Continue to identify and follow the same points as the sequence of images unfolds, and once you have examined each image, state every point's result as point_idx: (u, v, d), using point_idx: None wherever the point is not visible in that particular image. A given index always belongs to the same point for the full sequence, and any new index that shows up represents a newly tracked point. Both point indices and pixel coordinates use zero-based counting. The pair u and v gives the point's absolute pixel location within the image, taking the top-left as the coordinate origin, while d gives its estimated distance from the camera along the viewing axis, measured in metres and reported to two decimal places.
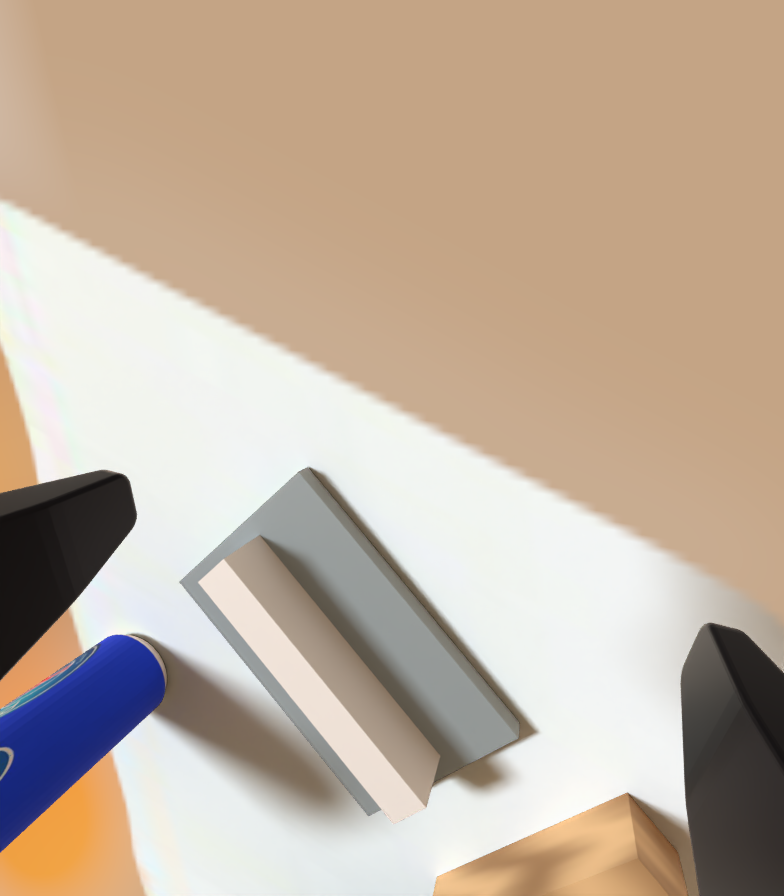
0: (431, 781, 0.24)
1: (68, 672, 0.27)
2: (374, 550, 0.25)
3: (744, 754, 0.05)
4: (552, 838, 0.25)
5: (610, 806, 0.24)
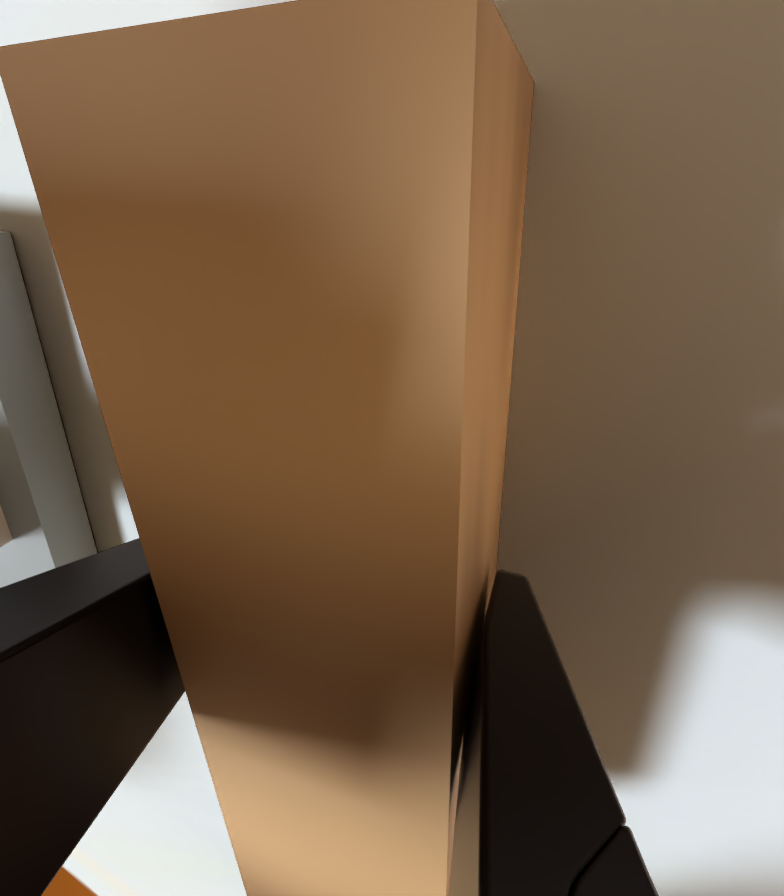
0: None
1: None
2: None
3: (476, 672, 0.06)
4: None
5: None
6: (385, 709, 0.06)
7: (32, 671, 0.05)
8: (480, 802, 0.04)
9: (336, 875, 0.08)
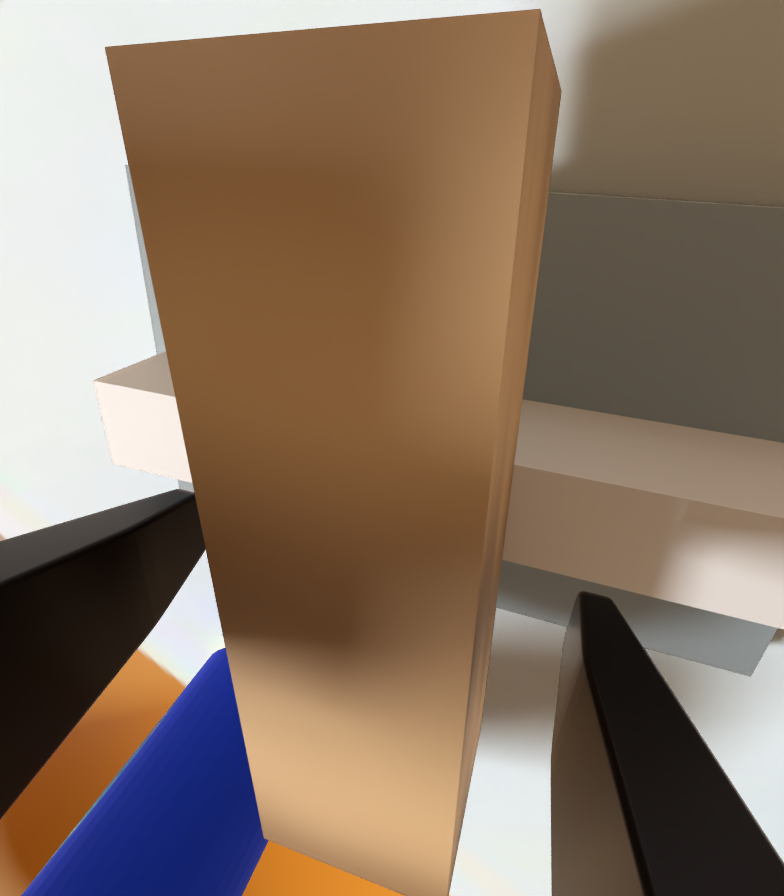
0: None
1: (144, 741, 0.17)
2: None
3: (580, 704, 0.05)
4: None
5: None
6: (411, 647, 0.06)
7: None
8: (637, 860, 0.04)
9: (351, 811, 0.08)
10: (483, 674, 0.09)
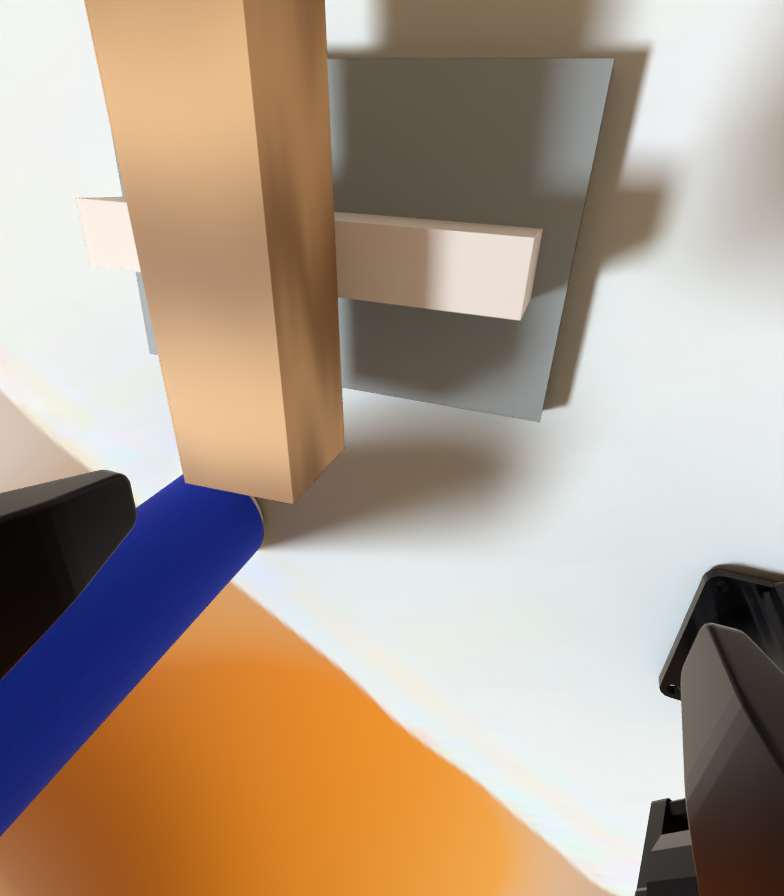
0: (534, 232, 0.14)
1: None
2: None
3: (744, 754, 0.05)
4: None
5: None
6: (240, 269, 0.11)
7: None
8: None
9: (230, 429, 0.14)
10: (322, 364, 0.14)
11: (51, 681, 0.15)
